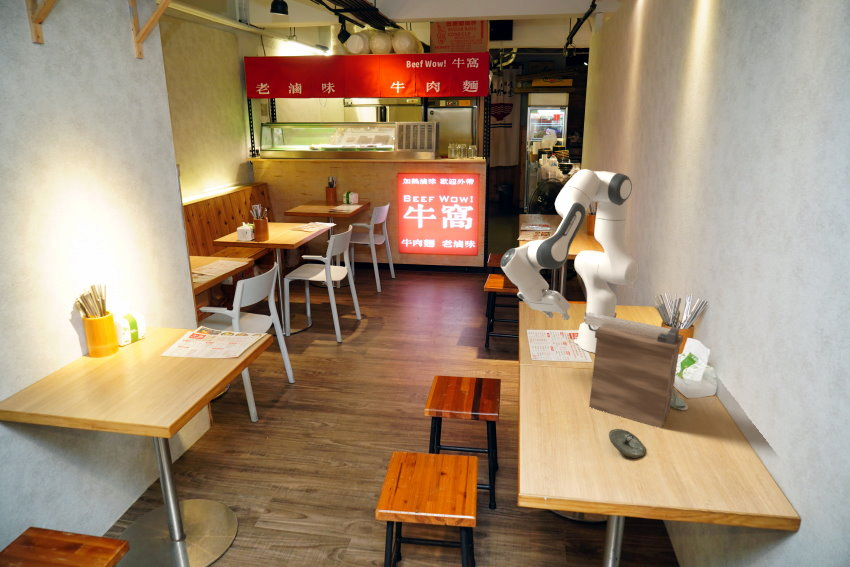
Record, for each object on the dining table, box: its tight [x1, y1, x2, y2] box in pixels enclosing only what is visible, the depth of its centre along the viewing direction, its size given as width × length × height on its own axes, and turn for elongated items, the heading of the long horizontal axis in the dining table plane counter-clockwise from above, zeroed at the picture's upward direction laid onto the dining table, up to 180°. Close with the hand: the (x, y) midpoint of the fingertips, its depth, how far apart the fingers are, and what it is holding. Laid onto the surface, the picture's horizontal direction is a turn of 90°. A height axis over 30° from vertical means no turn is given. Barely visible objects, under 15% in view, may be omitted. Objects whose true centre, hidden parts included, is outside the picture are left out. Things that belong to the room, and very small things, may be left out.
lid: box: [608, 428, 646, 459], centre depth 161 cm, size 11×10×5 cm
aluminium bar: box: [585, 312, 671, 339], centre depth 179 cm, size 3×25×3 cm, turn 57°
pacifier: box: [670, 387, 689, 411], centre depth 187 cm, size 7×6×6 cm
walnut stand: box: [588, 326, 684, 429], centre depth 180 cm, size 13×23×29 cm, turn 57°
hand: (559, 317), depth 200 cm, fingers open, 8 cm apart
